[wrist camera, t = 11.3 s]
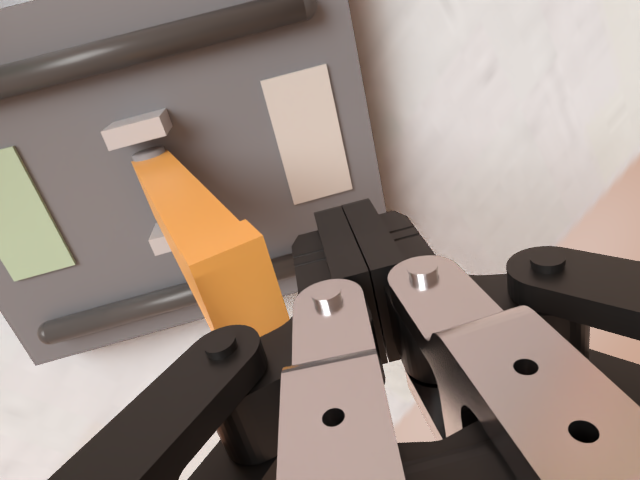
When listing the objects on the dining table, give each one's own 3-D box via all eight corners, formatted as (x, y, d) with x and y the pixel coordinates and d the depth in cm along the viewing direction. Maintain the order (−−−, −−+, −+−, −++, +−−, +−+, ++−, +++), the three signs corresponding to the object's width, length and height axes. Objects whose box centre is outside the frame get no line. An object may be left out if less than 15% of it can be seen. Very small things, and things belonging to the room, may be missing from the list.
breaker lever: (162, 140, 21) (263, 235, 10) (187, 205, 23) (300, 353, 11) (126, 152, 21) (188, 266, 9) (154, 217, 22) (238, 385, 11)
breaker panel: (324, -66, 21) (344, -85, 17) (383, 244, 28) (407, 282, 24) (-124, 47, 21) (-213, 54, 16) (52, 337, 28) (20, 391, 24)
